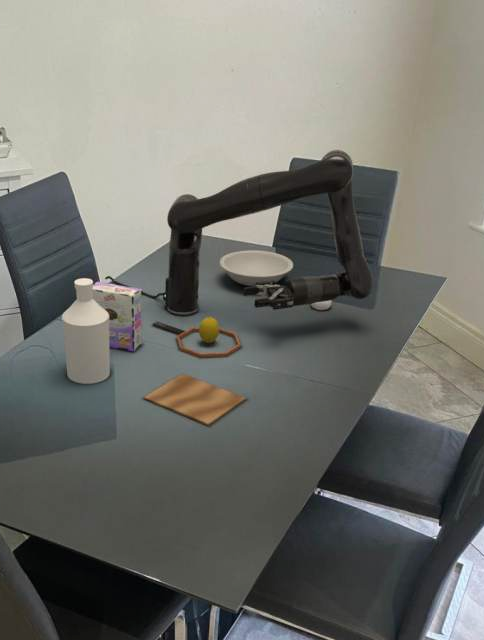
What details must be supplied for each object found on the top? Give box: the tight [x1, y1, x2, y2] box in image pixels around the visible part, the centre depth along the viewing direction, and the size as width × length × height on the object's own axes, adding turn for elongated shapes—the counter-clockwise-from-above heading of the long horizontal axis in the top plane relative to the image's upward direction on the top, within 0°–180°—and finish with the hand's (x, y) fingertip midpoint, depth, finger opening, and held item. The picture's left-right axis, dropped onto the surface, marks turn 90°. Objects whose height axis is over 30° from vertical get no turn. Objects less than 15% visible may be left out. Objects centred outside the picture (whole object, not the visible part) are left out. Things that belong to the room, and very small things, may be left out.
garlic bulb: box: [310, 300, 333, 311], centre depth 228 cm, size 6×6×8 cm
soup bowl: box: [219, 249, 294, 287], centre depth 244 cm, size 24×24×7 cm
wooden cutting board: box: [143, 373, 247, 426], centre depth 186 cm, size 20×16×1 cm
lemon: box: [198, 316, 220, 344], centre depth 208 cm, size 6×6×8 cm
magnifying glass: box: [152, 321, 242, 358], centre depth 213 cm, size 28×17×1 cm, turn 50°
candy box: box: [92, 281, 143, 352], centre depth 205 cm, size 14×6×16 cm, turn 65°
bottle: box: [61, 277, 111, 385], centre depth 189 cm, size 12×12×25 cm
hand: (249, 297), depth 205 cm, fingers open, 8 cm apart
